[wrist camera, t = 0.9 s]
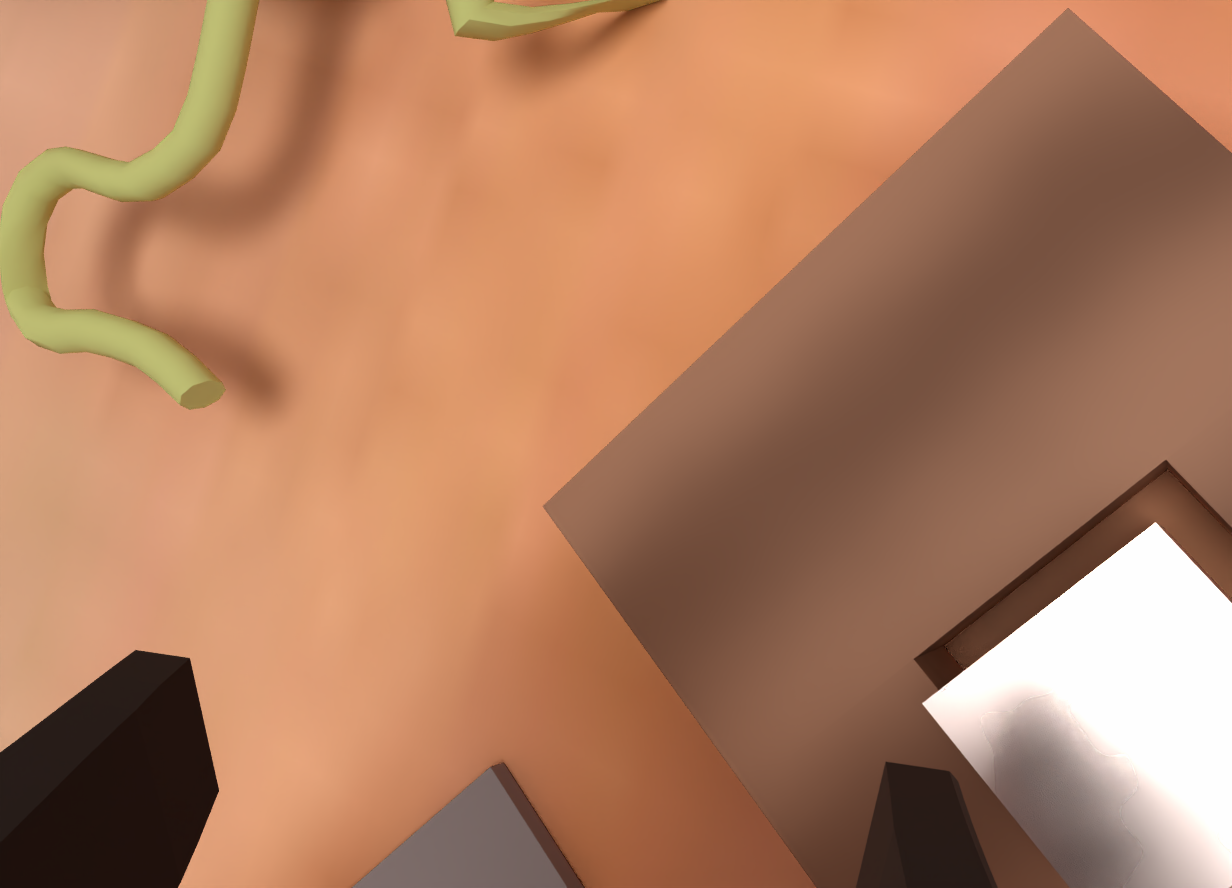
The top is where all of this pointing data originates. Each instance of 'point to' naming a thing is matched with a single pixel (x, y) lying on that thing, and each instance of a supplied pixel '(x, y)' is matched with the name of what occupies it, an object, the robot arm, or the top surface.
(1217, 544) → the top surface
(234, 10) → the figurine
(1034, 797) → the steel peg
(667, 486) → the walnut board
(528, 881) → the rubber mat
